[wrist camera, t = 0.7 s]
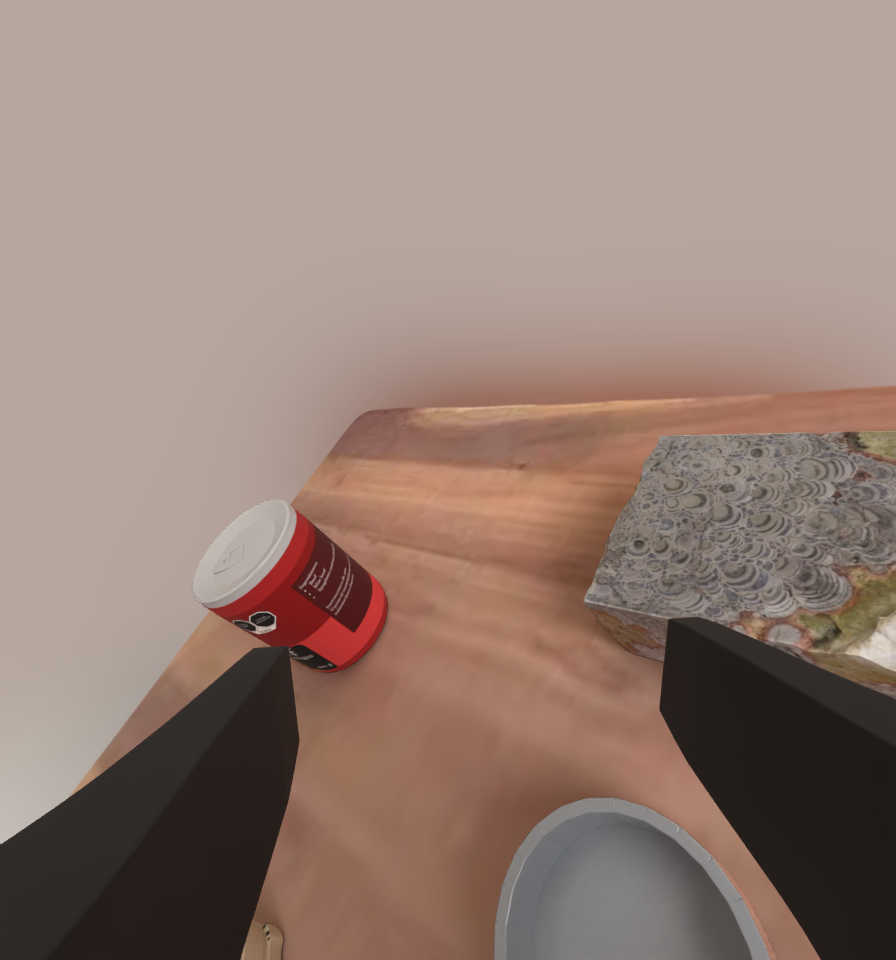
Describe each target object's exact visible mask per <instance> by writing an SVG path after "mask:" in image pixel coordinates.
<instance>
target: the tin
mask: <svg viewBox="0 0 896 960" xmlns="http://www.w3.org/2000/svg"><path fill="white" fill-rule="evenodd" d="M503 883H504V884H502V888H501V893H500V898H499V904H498V909H497V914H496V919H495V922H496V923H495V938H494V960H777V958H776V955H775V952H774V950H773V948H772V945H771V943H770V941H769V938H768V936H767V934H766V931H765V929H764V927H763V926H762V924H761V922H760V920H759V918H758V916H757V914H756V912H755V910H754V908H753V907H752V906H751V903H750V902H749V901H748V899H747V898H746V896H745V895H744V893H743V892H742V890H741V889H740V887H739V886H738V885H737V884H736V882H735V881H734V880H733V879H732V877H731V876H730V874H729V873H728V872H727V870H726V869H725V868H724V867H723V866H722V865H721V864H720V863H719V862H718V861H717V860H716V859H715V858H714V857H713V856H712V855H711V854H710V853H709V852H708V851H707V850H706V849H705V848H704V847H702V846H701V845H700V844H699V843H698V842H697V841H696V840H695V839H694V838H693V837H692V836H691V835H690V834H688V833H687V832H686V831H685V830H684V829H683V828H682V827H680V826H679V825H678V824H676V823H675V822H673V821H671V820H669V819H668V818H666V817H664V816H663V815H661V814H659V813H658V812H656V811H654V810H652V809H651V808H649V807H646V806H644V805H640V804H637V803H633V802H630V801H626V800H623V799H619V798H614V797H613V798H586V799H585V798H584V799H581V800H578V801H575V802H572V803H569V804H567V805H564V806H561V807H559V808H557V809H556V810H554V811H553V812H552V813H550V814H549V815H548V816H547V817H545V818H544V819H543V820H541V821H540V822H539V823H537V824H536V826H534V827H533V829H532V830H531V831H530V833H529V834H528V835H527V837H526V838H525V840H524V841H523V842H522V844H521V845H520V846H519V848H518V849H517V851H516V852H515V855H514V857H513V860H512V862H511V864H510V867H509V869H508V871H507V874H506V876H505V879H504V881H503Z"/></svg>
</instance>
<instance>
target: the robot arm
mask: <svg viewBox="0 0 896 960" xmlns="http://www.w3.org/2000/svg"><path fill="white" fill-rule="evenodd" d="M659 710H660V712H661V714H662V716H663V717H664V719H665V721H666V723H667V725H668V727H669V729H670V731H671V733H672V735H673V737H674V739H675V741H676V742H677V744H678V746H679V748H680V750H681V751H682V753H683V755H684V757H685V759H686V760H687V762H688V764H689V765H690V767H691V768H692V770H693V771H694V773H695V774H696V775H697V777H698V778H699V780H700V781H701V783H702V784H703V786H704V787H705V789H706V790H707V791H708V793H709V794H710V796H711V797H712V799H713V800H714V802H715V803H716V804H717V806H718V807H719V809H720V810H721V812H722V813H723V814H724V816H725V817H726V819H727V820H728V821H729V823H730V824H731V826H732V827H733V829H734V830H735V831H736V833H737V834H738V836H739V837H740V839H741V840H742V841H743V843H744V844H745V846H746V847H747V848H748V850H749V851H750V853H751V854H752V856H753V857H754V858H755V860H756V861H757V863H758V864H759V866H760V867H761V868H762V870H763V871H764V873H765V874H766V876H767V877H768V878H769V880H770V881H771V883H772V884H773V885H774V887H775V888H776V890H777V891H778V893H779V894H780V895H781V897H782V898H783V900H784V902H785V903H786V905H787V906H788V908H789V909H790V911H791V912H792V914H793V915H794V917H795V918H796V920H797V921H798V923H799V924H800V926H801V927H802V929H803V930H804V932H805V934H806V935H807V937H808V939H809V940H810V942H811V944H812V945H813V947H814V949H815V950H816V952H817V954H818V956H819V957H820V959H821V960H896V699H895V698H893V697H890V696H888V695H885V694H883V693H880V692H878V691H875V690H873V689H870V688H868V687H865V686H863V685H860V684H858V683H856V682H853V681H851V680H848V679H846V678H844V677H841V676H839V675H837V674H834V673H832V672H830V671H827V670H825V669H823V668H820V667H818V666H816V665H813V664H811V663H809V662H807V661H804V660H802V659H800V658H797V657H795V656H793V655H791V654H788V653H786V652H784V651H782V650H779V649H777V648H775V647H772V646H770V645H768V644H766V643H763V642H761V641H759V640H757V639H754V638H752V637H750V636H747V635H745V634H743V633H740V632H738V631H736V630H733V629H731V628H728V627H726V626H723V625H721V624H718V623H716V622H713V621H710V620H707V619H704V618H701V617H685V618H670V619H668V625H667V635H666V646H665V656H664V667H663V677H662V688H661V698H660V709H659ZM298 746H299V733H298V724H297V716H296V707H295V698H294V690H293V681H292V672H291V664H290V655H289V647H288V646H277V647H263V648H254V649H252V650H251V651H250V652H248V653H247V654H246V655H245V656H243V657H242V658H241V659H240V660H239V661H238V662H236V663H235V664H234V665H233V666H232V667H231V668H229V669H228V670H227V671H226V672H225V673H224V674H223V675H221V676H220V677H219V678H218V679H217V680H216V681H214V682H213V683H212V684H211V685H210V686H209V687H208V688H206V689H205V690H204V691H203V692H202V693H201V694H199V695H198V696H197V697H196V698H195V699H194V700H192V701H191V702H190V703H189V704H188V705H187V706H185V707H184V708H183V709H182V710H181V711H179V712H178V713H177V714H176V715H175V716H174V717H172V718H171V719H170V720H169V721H168V722H166V723H165V724H164V725H163V726H162V727H160V728H159V729H158V730H157V731H155V732H154V733H153V734H151V735H150V736H149V737H148V738H146V739H145V740H144V741H143V742H141V743H140V744H139V745H137V746H136V747H135V748H134V749H132V750H131V751H130V752H129V753H127V754H126V755H125V756H124V757H122V758H121V759H120V760H118V761H117V762H116V763H115V764H113V765H112V766H111V767H110V768H108V769H107V770H106V771H104V772H103V773H102V774H101V775H99V776H98V777H97V778H95V779H94V780H93V781H91V782H90V783H89V784H87V785H86V786H84V787H83V788H82V789H80V790H79V791H78V792H76V793H75V794H73V795H72V796H71V797H69V798H68V799H66V800H65V801H64V802H62V803H61V804H60V805H58V806H57V807H55V808H54V809H52V810H51V811H49V812H48V813H46V814H45V815H44V816H42V817H41V818H39V819H38V820H36V821H35V822H33V823H32V824H30V825H29V826H28V827H26V828H25V829H23V830H22V831H20V832H19V833H17V834H16V835H14V836H13V837H11V838H10V839H8V840H7V841H5V842H4V843H2V844H1V845H0V960H240V959H241V956H242V952H243V949H244V946H245V943H246V939H247V936H248V933H249V929H250V926H251V923H252V920H253V916H254V913H255V910H256V906H257V903H258V900H259V897H260V893H261V890H262V887H263V884H264V880H265V877H266V874H267V870H268V867H269V864H270V861H271V857H272V854H273V851H274V847H275V844H276V841H277V837H278V834H279V831H280V827H281V824H282V821H283V817H284V814H285V810H286V807H287V804H288V800H289V795H290V790H291V785H292V780H293V774H294V769H295V763H296V758H297V752H298Z"/></svg>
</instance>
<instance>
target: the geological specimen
mask: <svg viewBox="0 0 896 960" xmlns="http://www.w3.org/2000/svg"><path fill="white" fill-rule="evenodd" d="M583 602H584V604H585V606H587V607H588V608H589V609H590V610H591V611H592V613H593V614H594V615H595V618H596V620H597V622H598V623H599V624H600V625H601V626H602V627H603V628H606V629H607V630H608V632H609V633H610V634H611V635H612V636H613V637H614V638H615V639H616V640H617V641H618V642H619V643H621V644H622V645H623V646H624V647H625V648H626V649H627V650H628V651H630V652H631V653H633V654H635V655H639V656H643V657H647V658H651V659H654V660H658V661H661V662H664V656H665V646H666V635H667V625H668V619H670V618H685V617H701V618H704V619H707V620H710V621H713V622H716V623H718V624H721V625H723V626H726V627H728V628H731V629H733V630H736V631H738V632H740V633H743V634H745V635H747V636H750V637H752V638H754V639H757V640H759V641H761V642H763V643H766V644H768V645H770V646H772V647H775V648H777V649H779V650H782V651H784V652H786V653H788V654H791V655H793V656H795V657H797V658H800V659H802V660H804V661H807V662H809V663H811V664H813V665H816V666H818V667H820V668H823V669H825V670H827V671H830V672H832V673H834V674H837V675H839V676H841V677H844V678H846V679H848V680H851V681H853V682H856V683H858V684H860V685H863V686H865V687H868V688H870V689H873V690H875V691H878V692H880V693H883V694H885V695H888V696H890V697H893V698H895V699H896V431H858V432H828V433H823V434H815V433H772V434H728V435H675V436H660V438H659V441H658V444H657V446H656V447H655V448H654V449H653V450H652V453H651V455H650V456H649V457H648V458H647V459H646V460H645V461H644V463H643V469H642V474H641V476H640V482H639V484H638V486H637V487H636V490H635V494H634V495H633V496H632V497H631V499H630V500H629V502H628V503H627V504H626V505H625V506H624V508H623V509H622V511H621V513H620V514H619V515H618V516H617V521H616V522H615V524H614V527H613V529H612V531H611V533H610V535H609V537H608V539H607V542H606V543H605V549H604V555H603V557H602V559H601V561H600V563H599V566H598V568H597V571H596V573H595V575H594V579H593V583H592V584H591V586H590V587H589V589H588V590H587V593H586V596H585V598H584V601H583Z"/></svg>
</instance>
